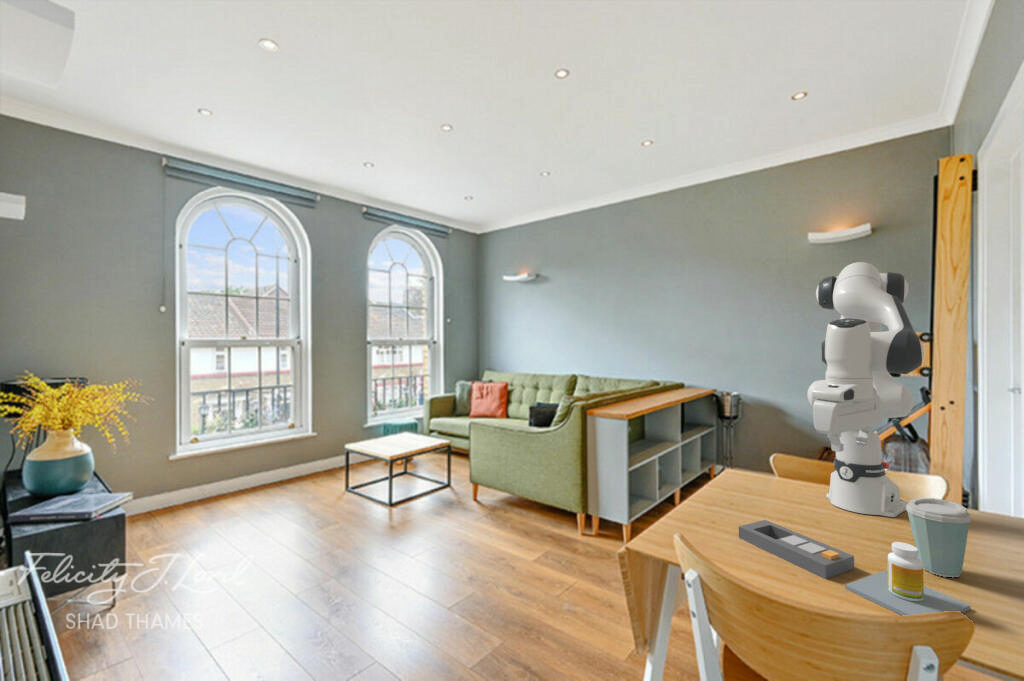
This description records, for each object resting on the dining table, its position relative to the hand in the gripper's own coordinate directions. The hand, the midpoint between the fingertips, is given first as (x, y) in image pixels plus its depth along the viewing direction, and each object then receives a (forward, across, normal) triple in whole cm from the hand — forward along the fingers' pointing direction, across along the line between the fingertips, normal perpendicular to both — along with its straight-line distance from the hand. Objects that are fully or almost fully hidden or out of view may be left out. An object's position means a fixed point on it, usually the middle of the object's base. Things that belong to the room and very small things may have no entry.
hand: (850, 448), depth 102 cm
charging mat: (+26, +7, +13) cm, 30 cm away
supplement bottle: (+26, +7, +13) cm, 30 cm away
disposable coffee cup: (+27, -12, +11) cm, 32 cm away
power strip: (+27, +8, -9) cm, 29 cm away
